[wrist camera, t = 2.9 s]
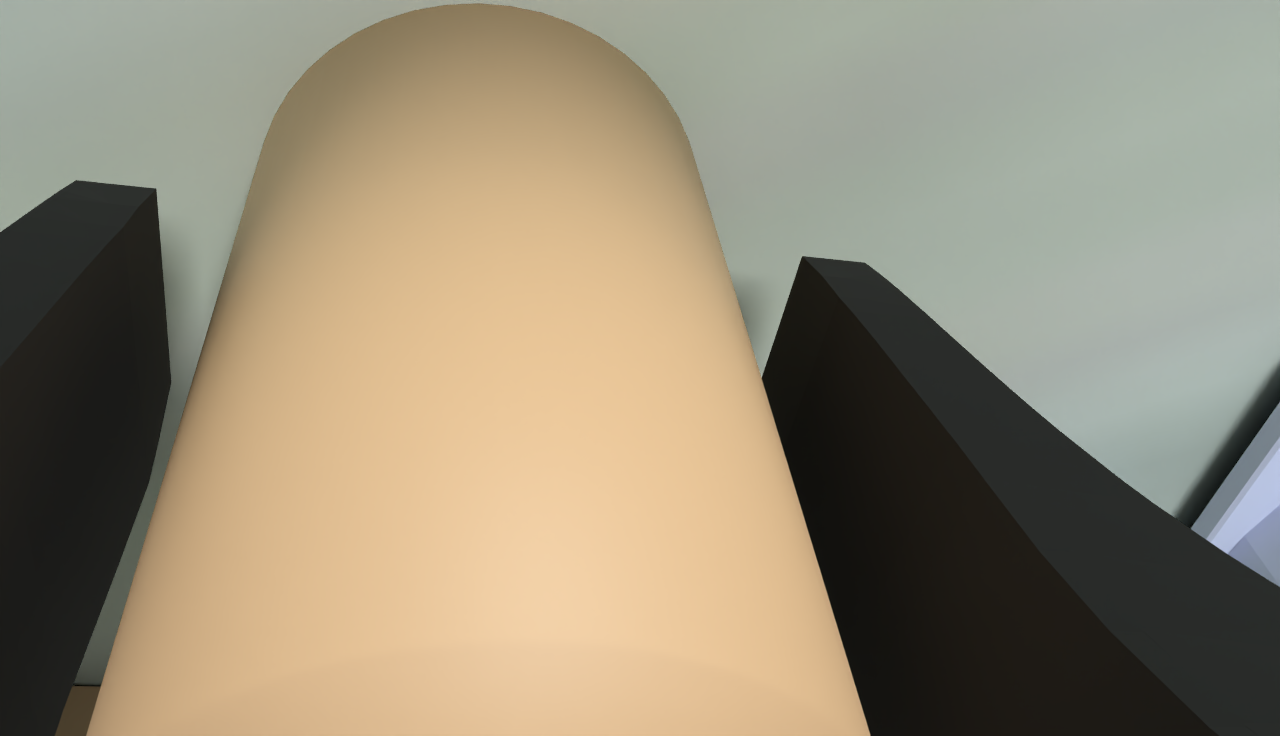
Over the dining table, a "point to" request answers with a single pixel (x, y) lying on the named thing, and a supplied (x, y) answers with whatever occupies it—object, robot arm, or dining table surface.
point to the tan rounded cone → (477, 427)
